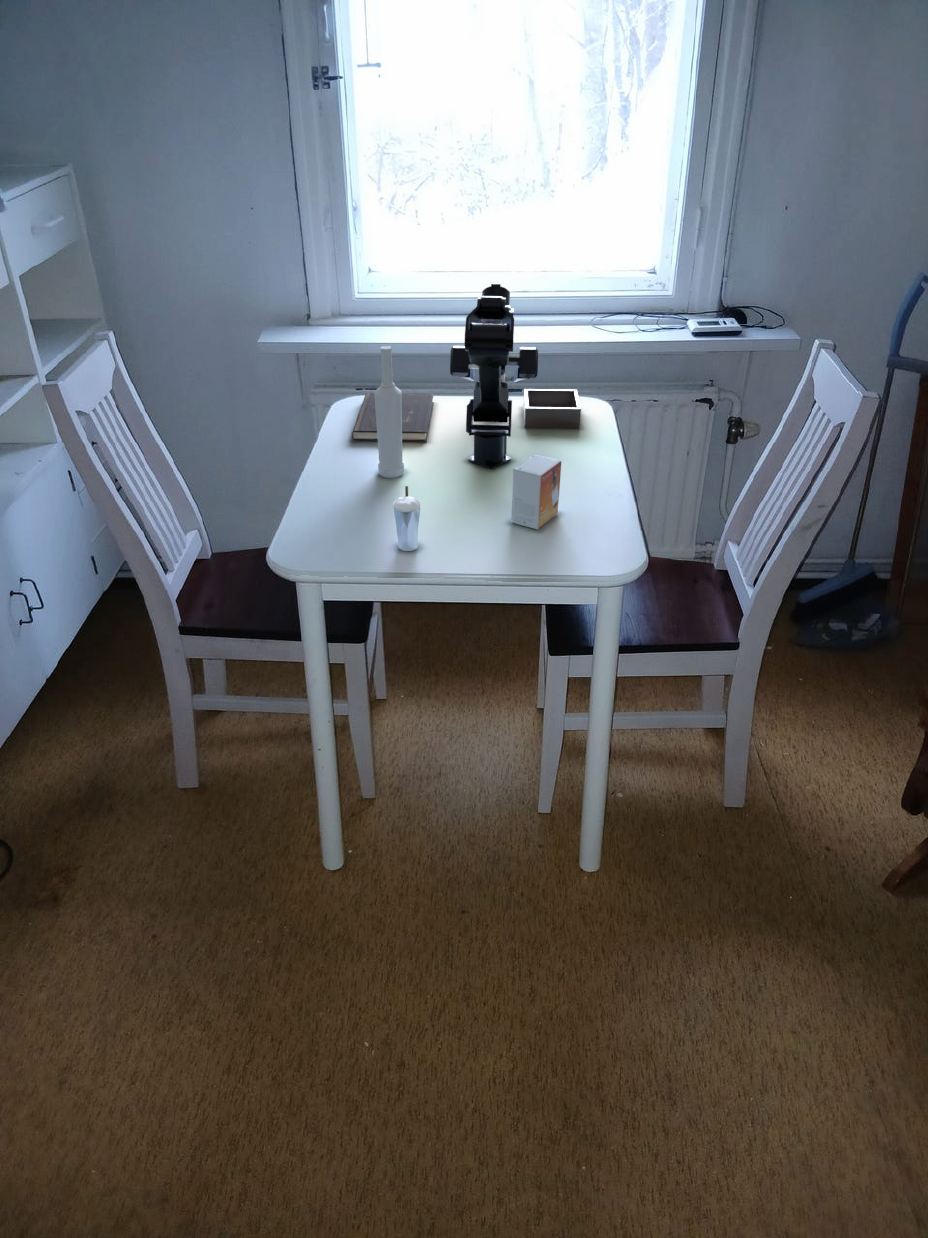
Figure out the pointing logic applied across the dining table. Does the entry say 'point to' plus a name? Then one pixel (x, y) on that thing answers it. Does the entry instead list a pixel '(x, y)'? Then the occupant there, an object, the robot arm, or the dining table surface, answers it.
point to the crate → (551, 408)
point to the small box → (535, 491)
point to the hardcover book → (413, 418)
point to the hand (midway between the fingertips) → (494, 379)
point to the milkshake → (407, 521)
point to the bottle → (389, 420)
